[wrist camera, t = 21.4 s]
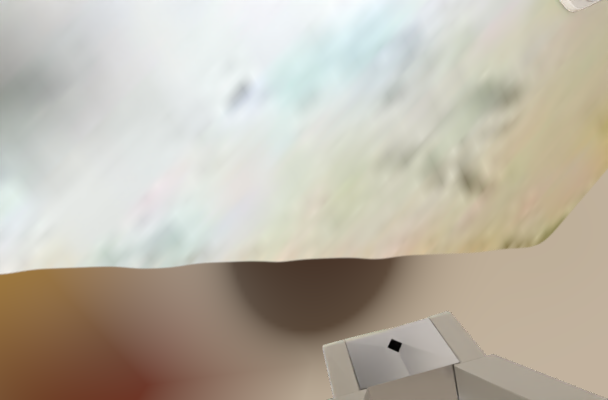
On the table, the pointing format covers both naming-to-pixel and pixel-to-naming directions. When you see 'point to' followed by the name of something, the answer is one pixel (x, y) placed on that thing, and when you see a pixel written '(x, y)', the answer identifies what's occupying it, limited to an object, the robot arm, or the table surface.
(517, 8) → the table surface
